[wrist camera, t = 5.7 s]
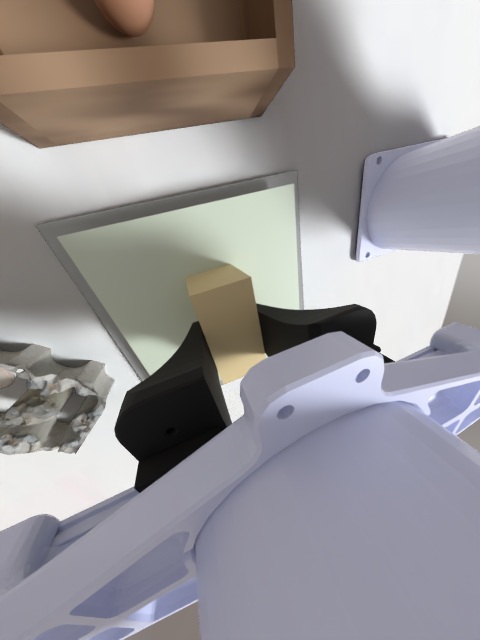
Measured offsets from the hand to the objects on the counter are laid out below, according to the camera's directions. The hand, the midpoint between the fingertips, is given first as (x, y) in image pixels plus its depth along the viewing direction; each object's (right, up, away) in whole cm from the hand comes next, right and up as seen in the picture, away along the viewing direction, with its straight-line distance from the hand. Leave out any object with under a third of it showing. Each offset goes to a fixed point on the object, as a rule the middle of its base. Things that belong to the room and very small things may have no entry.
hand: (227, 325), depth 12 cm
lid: (-1, +1, +2) cm, 2 cm away
